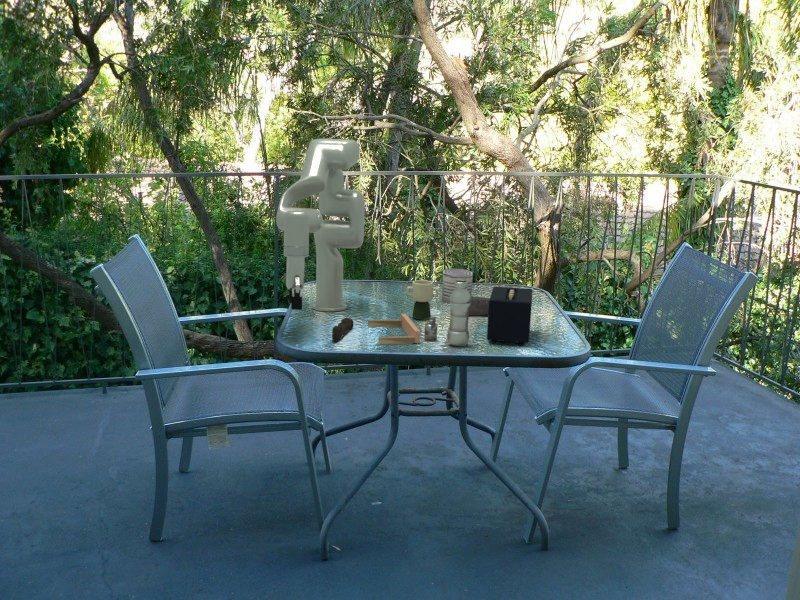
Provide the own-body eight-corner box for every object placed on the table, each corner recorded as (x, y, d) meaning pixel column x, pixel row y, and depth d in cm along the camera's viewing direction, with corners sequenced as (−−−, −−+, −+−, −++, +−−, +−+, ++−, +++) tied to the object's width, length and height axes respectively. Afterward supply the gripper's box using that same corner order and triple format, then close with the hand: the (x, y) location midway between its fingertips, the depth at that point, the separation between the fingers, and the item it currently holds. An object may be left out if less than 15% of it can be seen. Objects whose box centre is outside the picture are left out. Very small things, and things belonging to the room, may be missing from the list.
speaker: (491, 327, 280) (493, 283, 276) (529, 330, 277) (532, 286, 274) (486, 344, 259) (489, 297, 255) (528, 347, 257) (531, 300, 253)
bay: (367, 325, 277) (368, 320, 276) (400, 325, 279) (400, 319, 278) (379, 344, 255) (379, 338, 254) (414, 343, 257) (415, 337, 256)
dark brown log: (341, 328, 273) (341, 315, 272) (353, 329, 272) (353, 315, 271) (324, 343, 255) (324, 329, 254) (337, 344, 254) (337, 330, 253)
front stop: (400, 325, 279) (400, 313, 278) (405, 325, 279) (405, 313, 278) (414, 343, 257) (415, 331, 256) (419, 343, 257) (420, 331, 256)
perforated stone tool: (499, 314, 299) (500, 295, 298) (501, 317, 294) (502, 298, 293) (457, 313, 299) (458, 294, 297) (459, 316, 294) (460, 297, 292)
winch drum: (422, 338, 264) (423, 312, 262) (435, 337, 264) (436, 312, 263) (427, 343, 258) (428, 317, 256) (439, 342, 259) (440, 317, 257)
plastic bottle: (445, 342, 260) (448, 279, 255) (467, 342, 260) (470, 279, 256) (448, 347, 253) (451, 283, 249) (470, 348, 254) (473, 283, 250)
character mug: (437, 317, 292) (438, 280, 289) (437, 322, 285) (438, 284, 282) (406, 315, 292) (407, 279, 289) (405, 320, 285) (406, 283, 282)
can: (469, 299, 322) (470, 268, 319) (473, 306, 311) (475, 274, 308) (439, 298, 321) (441, 268, 319) (443, 305, 310) (444, 273, 308)
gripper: (282, 247, 262) (281, 300, 266) (285, 255, 246) (284, 312, 249) (306, 247, 264) (305, 300, 267) (311, 255, 247) (310, 312, 251)
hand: (295, 306), depth 258 cm, fingers open, 9 cm apart
